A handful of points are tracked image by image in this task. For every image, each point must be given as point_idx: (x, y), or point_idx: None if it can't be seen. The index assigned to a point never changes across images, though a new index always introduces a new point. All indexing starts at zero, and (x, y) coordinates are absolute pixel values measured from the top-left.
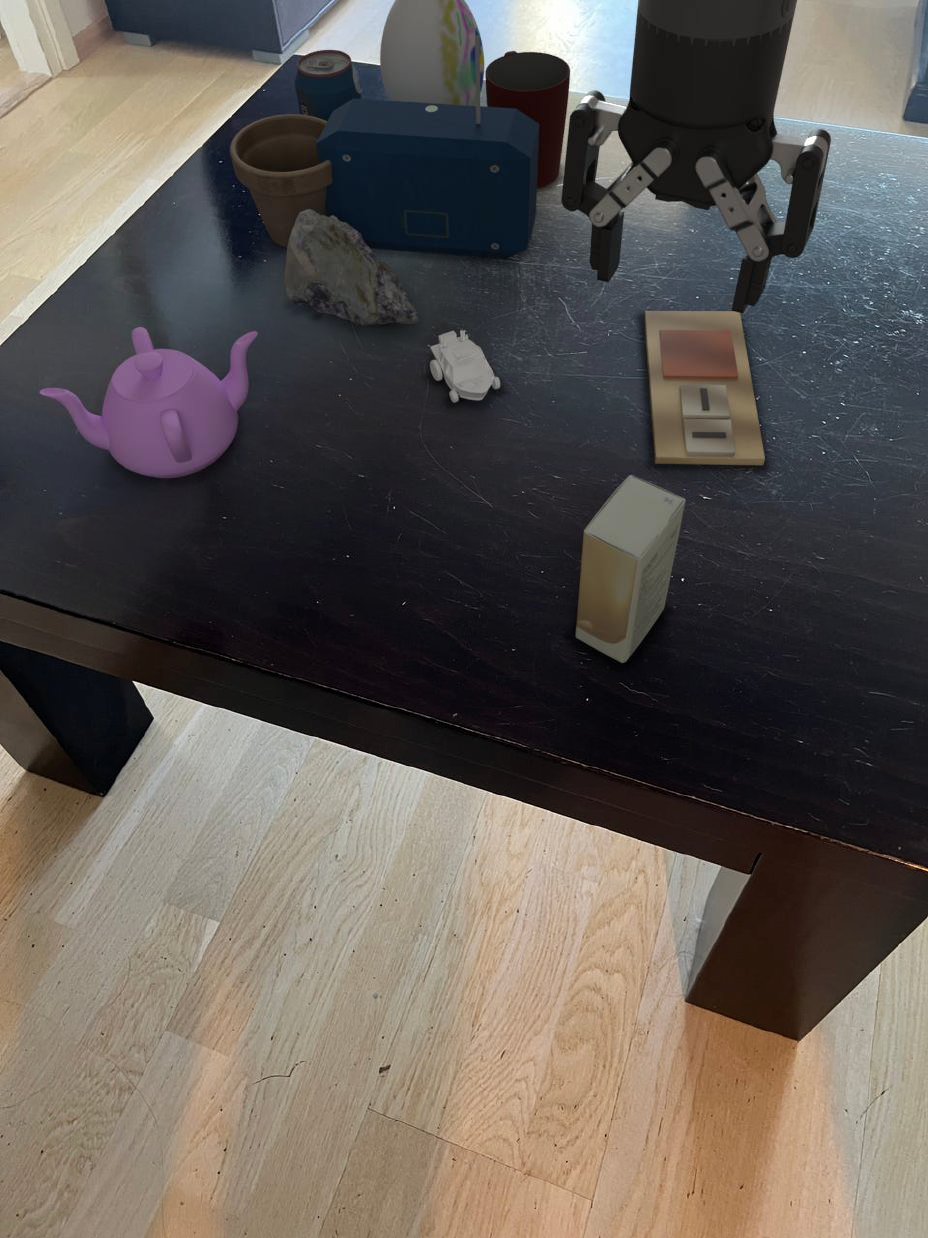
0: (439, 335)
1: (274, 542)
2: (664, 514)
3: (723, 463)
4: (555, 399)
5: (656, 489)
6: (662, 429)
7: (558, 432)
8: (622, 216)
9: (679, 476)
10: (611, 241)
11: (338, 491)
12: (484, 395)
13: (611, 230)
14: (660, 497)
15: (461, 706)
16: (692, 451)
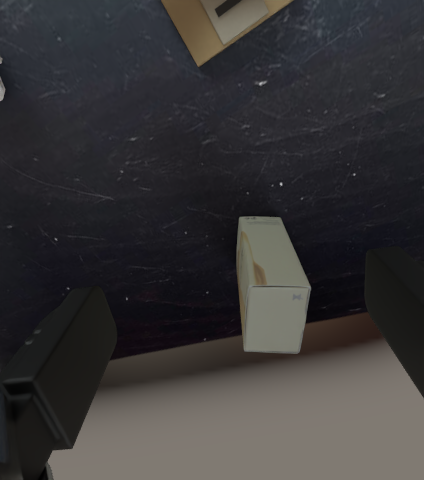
0: None
1: (21, 302)
2: (299, 310)
3: (259, 24)
4: (58, 33)
5: (280, 290)
6: (182, 19)
7: (95, 81)
8: (43, 385)
9: (227, 69)
10: (83, 413)
11: (11, 247)
12: (2, 83)
13: (69, 445)
14: (288, 297)
15: (204, 334)
16: (228, 41)
